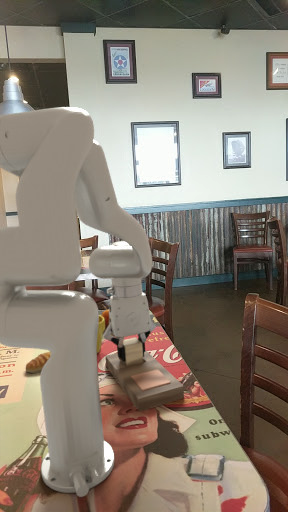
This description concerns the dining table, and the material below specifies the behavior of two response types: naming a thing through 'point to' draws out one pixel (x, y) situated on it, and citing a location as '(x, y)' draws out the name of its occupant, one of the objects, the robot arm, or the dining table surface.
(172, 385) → the pocket board
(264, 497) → the dining table surface
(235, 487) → the dining table surface
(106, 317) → the fruit
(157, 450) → the dining table surface
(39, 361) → the pastry
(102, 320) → the plant pot
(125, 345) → the maple block
